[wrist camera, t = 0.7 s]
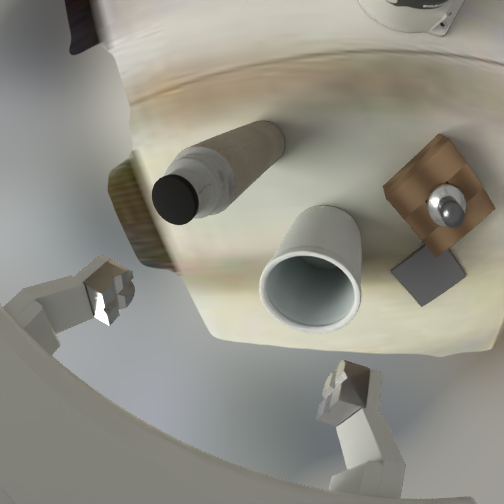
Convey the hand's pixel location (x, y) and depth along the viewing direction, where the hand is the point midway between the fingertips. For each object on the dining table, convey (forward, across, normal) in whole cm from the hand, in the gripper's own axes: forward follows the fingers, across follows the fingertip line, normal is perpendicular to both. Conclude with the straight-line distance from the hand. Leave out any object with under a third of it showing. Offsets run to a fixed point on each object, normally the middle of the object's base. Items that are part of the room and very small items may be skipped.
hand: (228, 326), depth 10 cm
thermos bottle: (+42, +11, +5) cm, 44 cm away
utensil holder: (+42, -5, +19) cm, 46 cm away
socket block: (+42, -20, +2) cm, 46 cm away
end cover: (+40, -20, +2) cm, 45 cm away
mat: (+42, -28, +17) cm, 53 cm away
